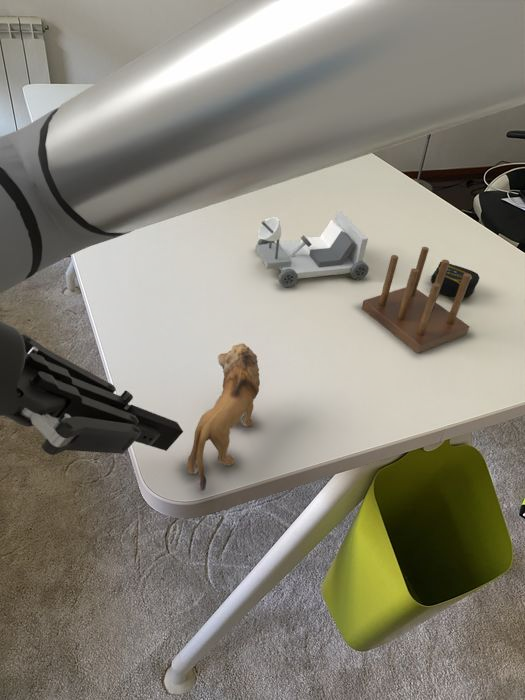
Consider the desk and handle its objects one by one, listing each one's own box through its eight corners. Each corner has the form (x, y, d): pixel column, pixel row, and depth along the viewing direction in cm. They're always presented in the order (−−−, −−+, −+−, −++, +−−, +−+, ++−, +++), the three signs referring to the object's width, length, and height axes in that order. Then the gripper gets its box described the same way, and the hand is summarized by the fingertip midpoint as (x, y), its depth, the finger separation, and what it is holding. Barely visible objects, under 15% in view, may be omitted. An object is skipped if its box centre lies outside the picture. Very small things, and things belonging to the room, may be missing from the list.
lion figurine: (219, 392, 66) (221, 332, 61) (262, 401, 66) (268, 342, 60) (178, 488, 55) (177, 426, 49) (230, 500, 54) (234, 439, 49)
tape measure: (475, 290, 90) (483, 270, 88) (465, 308, 85) (473, 288, 83) (435, 276, 93) (441, 256, 90) (423, 294, 88) (429, 273, 85)
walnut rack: (466, 334, 80) (489, 278, 74) (417, 353, 76) (436, 295, 70) (409, 293, 88) (425, 239, 82) (361, 308, 83) (374, 252, 77)
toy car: (268, 232, 79) (245, 198, 87) (262, 290, 85) (241, 253, 93) (379, 223, 84) (347, 192, 92) (366, 279, 90) (337, 245, 98)
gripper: (-98, 344, 43) (125, 421, 61) (-74, 461, 34) (175, 510, 52) (-40, 271, 42) (168, 371, 60) (-2, 373, 33) (226, 453, 51)
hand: (171, 436), depth 56 cm, fingers closed
